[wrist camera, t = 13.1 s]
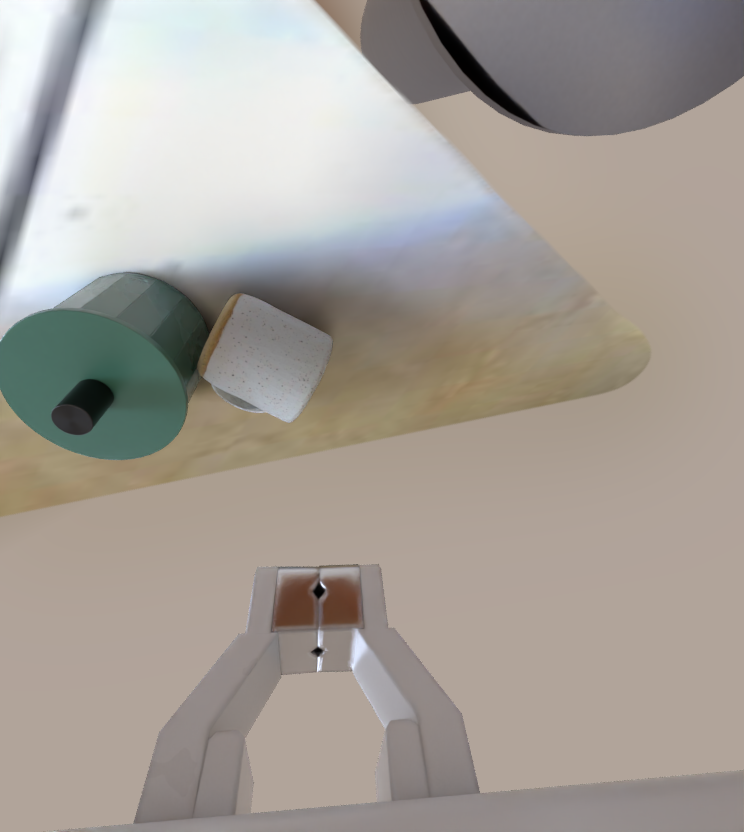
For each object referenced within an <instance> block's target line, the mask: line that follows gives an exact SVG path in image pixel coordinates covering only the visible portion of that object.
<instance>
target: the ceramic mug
mask: <svg viewBox="0 0 744 832" xmlns="http://www.w3.org/2000/svg"><path fill="white" fill-rule="evenodd" d="M332 345H333V339H332V337H331V336H330V335H328V334H326V333H324V332H322V331H320V330H318V329H316V328H314V327H312V326H311V325H309V324H307V323H305V322H303V321H301V320H299V319H297V318H295V317H293V316H291V315H289V314H287V313H285V312H283V311H281V310H279V309H277V308H275V307H273V306H271V305H270V304H268V303H266V302H264V301H262V300H260V299H258V298H255V297H252V296H249V295H246V294H242V293H238V294H235V295H232V296H231V297H230V298H229V300H228V301H227V303H226V304H225V306H224V308H223V310H222V312H221V313H220V315H219V317H218V319H217V321H216V323H215V325H214V327H213V329H212V331H211V333H210V335H209V337H208V339H207V341H206V343H205V345H204V348H203V350H202V353H201V355H200V358H199V361H198V364H197V369H198V372H199V374H200V376H202V377H203V378H204V379H205V380H207V381H208V382H210V383H211V384H212V388H213V389H214V390H215V392H216V393H217V394H218V395H219V396H220V397H221V398H222V399H224V400H225V401H226V402H228V403H230V404H231V405H233V406H235V407H237V408H239V409H242V410H245V411H249V412H254V413H264V412H267V413H269V414H271V415H273V416H275V417H277V418H279V419H281V420H283V421H285V422H288V423H291V422H292V421H294V420H295V419H296V418H297V417H298V416H299V415H300V414H301V413H302V411H303V409H304V408H305V406H306V405H307V403H308V401H309V400H310V398H311V396H312V395H313V393H314V391H315V389H316V388H317V386H318V384H319V382H320V380H321V378H322V376H323V374H324V371H325V368H326V365H327V363H328V361H329V358H330V355H331V351H332Z"/></svg>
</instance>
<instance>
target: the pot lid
mask: <svg viewBox="0 0 744 832" xmlns="http://www.w3.org/2000/svg"><path fill="white" fill-rule="evenodd" d="M0 390H1V392H2V394H3V396H4V398H5V399H6V401H7V403H8V404H9V406H10V407H11V408H12V409H13V411H14V412H15V413H16V414H17V416H18V417H19V418H20V419H21V420H22V421H23V422H24V423H25V424H27V425H28V426H29V427H30V428H31V429H33V430H34V431H35V432H37V433H38V434H39V435H41V436H42V437H44V438H45V439H47V440H49V441H51V442H52V443H54V444H56V445H58V446H60V447H62V448H64V449H67V450H70V451H72V452H75V453H78V454H81V455H85V456H88V457H94V458H99V459H107V460H127V459H135V458H140V457H144V456H147V455H150V454H153V453H155V452H157V451H159V450H161V449H162V448H164V447H165V446H167V445H168V444H169V443H170V442H171V441H173V440H174V438H175V437H176V436H177V435H178V433H179V432H180V430H181V428H182V426H183V424H184V422H185V419H186V416H187V410H188V395H187V389H186V386H185V383H184V380H183V377H182V375H181V373H180V371H179V369H178V368H177V366H176V365H175V363H174V361H173V360H172V359H171V357H170V356H169V355H168V354H167V353H166V351H165V350H164V349H163V348H162V347H161V346H160V345H159V344H158V343H156V342H155V341H154V340H153V339H152V338H150V337H149V336H148V335H147V334H145V333H144V332H142V331H141V330H139V329H138V328H136V327H134V326H133V325H131V324H129V323H127V322H125V321H123V320H121V319H118V318H116V317H113V316H110V315H108V314H105V313H101V312H97V311H94V310H87V309H81V308H53V309H48V310H43V311H39V312H37V313H34V314H31V315H29V316H27V317H25V318H24V319H22V320H20V321H19V322H17V323H16V324H14V325H13V326H12V327H11V328H10V329H9V330H8V331H7V332H6V333H5V335H4V336H3V337H2V339H1V341H0Z"/></svg>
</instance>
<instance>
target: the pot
mask: <svg viewBox="0 0 744 832" xmlns="http://www.w3.org/2000/svg"><path fill="white" fill-rule="evenodd" d="M54 308H81V309H87V310H94V311H97V312H101V313H105V314H108V315H110V316H113V317H116V318H118V319H121V320H123V321H125V322H127V323H129V324H131V325H133V326H134V327H136V328H138V329H139V330H141V331H142V332H144V333H145V334H147V335H148V336H149V337H150V338H152V339H153V340H154V341H155V342H156V343H158V344H159V345H160V346H161V347H162V348H163V349H164V350H165V351H166V353H167V354H168V355H169V356H170V357H171V359H172V360H173V361H174V363H175V365H176V366H177V368H178V369H179V371H180V373H181V375H182V377H183V380H184V383H185V386H186V389H187V395H188V403H189V401H190V399H191V397H192V395H193V393H194V391H195V389H196V387H197V385H198V383H199V381H200V379H201V377H202V376H200V374H199V372H198V369H197V364H198V361H199V358H200V355H201V353H202V350H203V348H204V345H205V343H206V341H207V339H208V337H209V332H208V329H207V326H206V324H205V321H204V319H203V318H202V316H201V314H200V313H199V311H198V310H197V308H196V307H195V306H194V305H193V304H192V303H191V301H190V300H189V299H188V298H187V297H185V296H184V295H183V294H182V293H181V292H179V291H178V290H177V289H175V288H174V287H172V286H170V285H169V284H167V283H165V282H163V281H161V280H158V279H156V278H153V277H150V276H147V275H142V274H137V273H116V274H111V275H107V276H104V277H99V278H98V279H96V280H95V281H93V282H92V283H90V284H89V285H87V286H86V287H84V288H83V289H81V290H80V291H78V292H77V293H75V294H74V295H72V296H71V297H69V298H68V299H66V300H65V301H63V302H62V303H60V304H59V305H57V306H56V307H54Z"/></svg>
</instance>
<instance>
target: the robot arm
mask: <svg viewBox="0 0 744 832" xmlns="http://www.w3.org/2000/svg"><path fill="white" fill-rule="evenodd" d="M317 667H318V672H340V671H341V672H343V671H353V674H354V676H355V678H356V679H357V681H358V683H359V685H360V686H361V688H362V690H363V692H364V693H365V695H366V697H367V698H368V700H369V702H370V703H371V705H372V707H373V709H374V711H375V712H376V714H377V716H378V718H379V719H380V721H381V723H382V724H383V726H384V728H385V733H384V737H383V741H382V745H381V750H380V754H379V758H378V762H377V767H376V771H375V778H376V794H377V802H375V803H365V804H353V805H341V806H330V807H318V808H307V809H296V810H284V811H273V812H261V813H251V804H252V793H253V784H254V782H253V777H252V772H251V767H250V762H249V757H248V753H247V747H246V742H245V737H246V736H247V734H248V733H249V731H250V729H251V728H252V726H253V724H254V722H255V721H256V719H257V717H258V716H259V714H260V712H261V711H262V709H263V707H264V706H265V704H266V702H267V700H268V699H269V697H270V695H271V694H272V692H273V690H274V689H275V687H276V685H277V684H278V682H279V680H280V679H281V675H287V674H300V673H312V672H317ZM46 832H744V770H740V771H728V772H716V773H705V774H693V775H682V776H671V777H659V778H648V779H637V780H625V781H614V782H603V783H591V784H580V785H568V786H557V787H546V788H535V789H523V790H511V791H500V792H489V793H480V791H479V787H478V782H477V778H476V774H475V770H474V765H473V760H472V756H471V751H470V747H469V743H468V738H467V734H466V730H465V726H464V721H463V717H462V713H461V712H460V711H459V710H458V708H457V707H456V706H455V705H454V703H453V702H452V701H451V699H450V698H449V697H448V696H447V694H446V693H445V692H444V690H443V689H442V688H441V687H440V686H439V684H438V683H437V682H436V680H435V679H434V678H433V676H432V675H431V674H430V673H429V671H428V670H427V669H426V668H425V666H424V665H423V664H422V662H421V661H420V660H419V659H418V658H417V656H416V655H415V654H414V652H413V651H412V650H411V649H410V647H409V646H408V645H407V643H406V642H405V641H404V639H403V638H402V637H401V636H400V634H399V633H398V632H397V631H396V630H395V628H388V622H387V614H386V605H385V597H384V589H383V581H382V573H381V568H380V566H379V564H372V565H358V564H356V565H355V564H353V565H328V566H319V567H257V570H256V573H255V577H254V583H253V589H252V595H251V601H250V607H249V614H248V620H247V626H246V632H245V634H238V636H237V637H236V638H235V640H233V642H232V643H231V644H230V646H229V647H228V648H227V649H226V650H225V652H224V653H223V654H222V655H221V657H220V658H219V659H218V660H217V662H216V663H215V664H214V665H213V667H212V668H211V669H210V670H209V671H208V673H207V674H206V675H205V677H204V678H203V679H202V680H201V681H200V683H199V684H198V685H197V686H196V688H195V689H194V690H193V691H192V693H191V694H190V695H189V696H188V698H187V699H186V700H185V701H184V703H183V704H182V705H181V706H180V707H179V709H178V710H177V711H176V712H175V714H174V715H173V716H172V717H171V719H170V720H169V721H168V722H167V724H166V725H165V726H164V727H163V729H162V730H161V731H160V732H159V735H158V738H157V742H156V746H155V749H154V753H153V756H152V760H151V763H150V767H149V771H148V774H147V778H146V781H145V784H144V788H143V792H142V795H141V799H140V802H139V806H138V809H137V813H136V817H135V820H134V823H133V824H125V825H114V826H103V827H91V828H79V829H68V830H57V831H46Z"/></svg>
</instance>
